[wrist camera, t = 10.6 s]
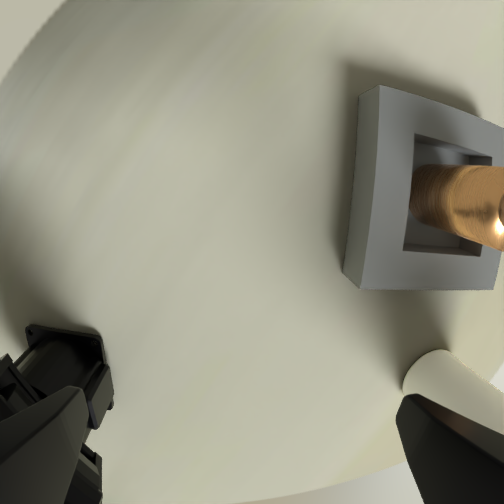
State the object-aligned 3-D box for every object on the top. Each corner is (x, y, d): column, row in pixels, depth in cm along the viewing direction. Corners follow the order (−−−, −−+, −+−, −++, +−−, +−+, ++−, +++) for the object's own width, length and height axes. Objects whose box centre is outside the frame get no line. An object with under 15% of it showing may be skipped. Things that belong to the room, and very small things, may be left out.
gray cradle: (342, 272, 20) (359, 289, 17) (358, 95, 17) (379, 84, 14) (468, 276, 21) (493, 289, 18) (485, 134, 18) (512, 132, 15)
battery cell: (402, 222, 19) (488, 253, 11) (409, 158, 18) (499, 159, 10) (449, 227, 19) (534, 257, 11) (455, 169, 18) (544, 178, 10)
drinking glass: (403, 342, 21) (527, 483, 7) (467, 334, 22) (585, 436, 7) (382, 411, 23) (461, 549, 8) (443, 398, 23) (530, 506, 9)
